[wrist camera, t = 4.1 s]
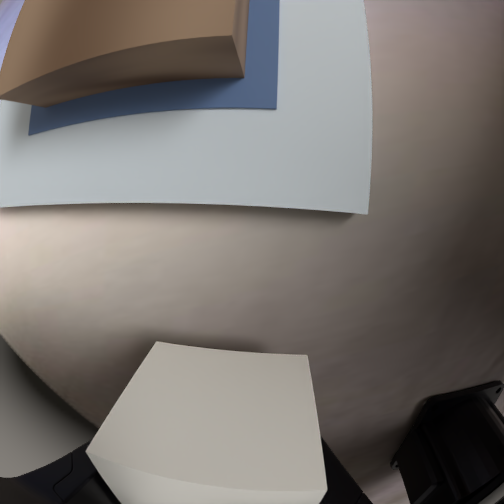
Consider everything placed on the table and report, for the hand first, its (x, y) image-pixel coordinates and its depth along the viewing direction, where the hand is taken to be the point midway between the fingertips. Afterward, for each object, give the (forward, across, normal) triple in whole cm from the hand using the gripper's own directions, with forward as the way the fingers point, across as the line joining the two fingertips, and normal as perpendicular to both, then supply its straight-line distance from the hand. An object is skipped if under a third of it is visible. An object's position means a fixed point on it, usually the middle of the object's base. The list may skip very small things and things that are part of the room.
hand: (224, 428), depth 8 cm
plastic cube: (+1, 0, 0) cm, 1 cm away
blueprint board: (+3, +4, -15) cm, 16 cm away
